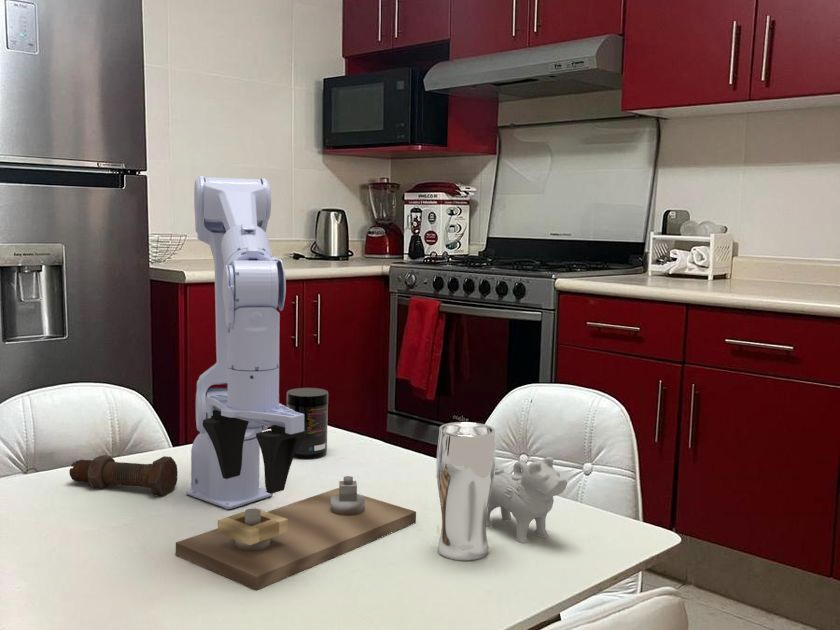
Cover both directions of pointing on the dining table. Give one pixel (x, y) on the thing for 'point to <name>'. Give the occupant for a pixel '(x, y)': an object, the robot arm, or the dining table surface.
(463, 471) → the beer glass
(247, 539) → the square wooden ring
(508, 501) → the dog figurine
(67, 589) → the dining table surface
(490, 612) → the dining table surface
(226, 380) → the robot arm
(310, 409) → the supplement container
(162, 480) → the bolt
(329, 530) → the board
